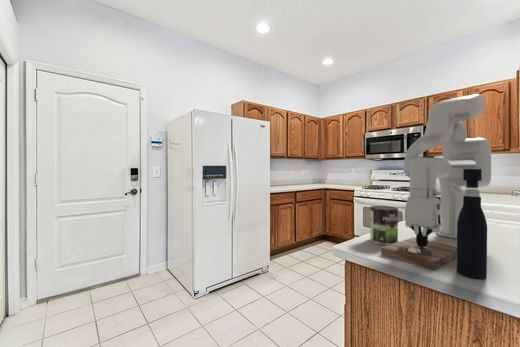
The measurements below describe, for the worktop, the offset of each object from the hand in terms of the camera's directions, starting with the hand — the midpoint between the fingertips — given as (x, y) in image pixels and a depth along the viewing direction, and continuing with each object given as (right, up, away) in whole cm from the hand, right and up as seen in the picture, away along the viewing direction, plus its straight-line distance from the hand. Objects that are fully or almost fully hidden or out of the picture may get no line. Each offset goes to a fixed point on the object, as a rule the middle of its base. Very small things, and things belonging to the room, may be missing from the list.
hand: (421, 246), depth 84 cm
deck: (0, -3, 0) cm, 3 cm away
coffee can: (-5, -3, +16) cm, 17 cm away
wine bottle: (+4, -4, -15) cm, 16 cm away
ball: (-5, -1, -3) cm, 6 cm away
